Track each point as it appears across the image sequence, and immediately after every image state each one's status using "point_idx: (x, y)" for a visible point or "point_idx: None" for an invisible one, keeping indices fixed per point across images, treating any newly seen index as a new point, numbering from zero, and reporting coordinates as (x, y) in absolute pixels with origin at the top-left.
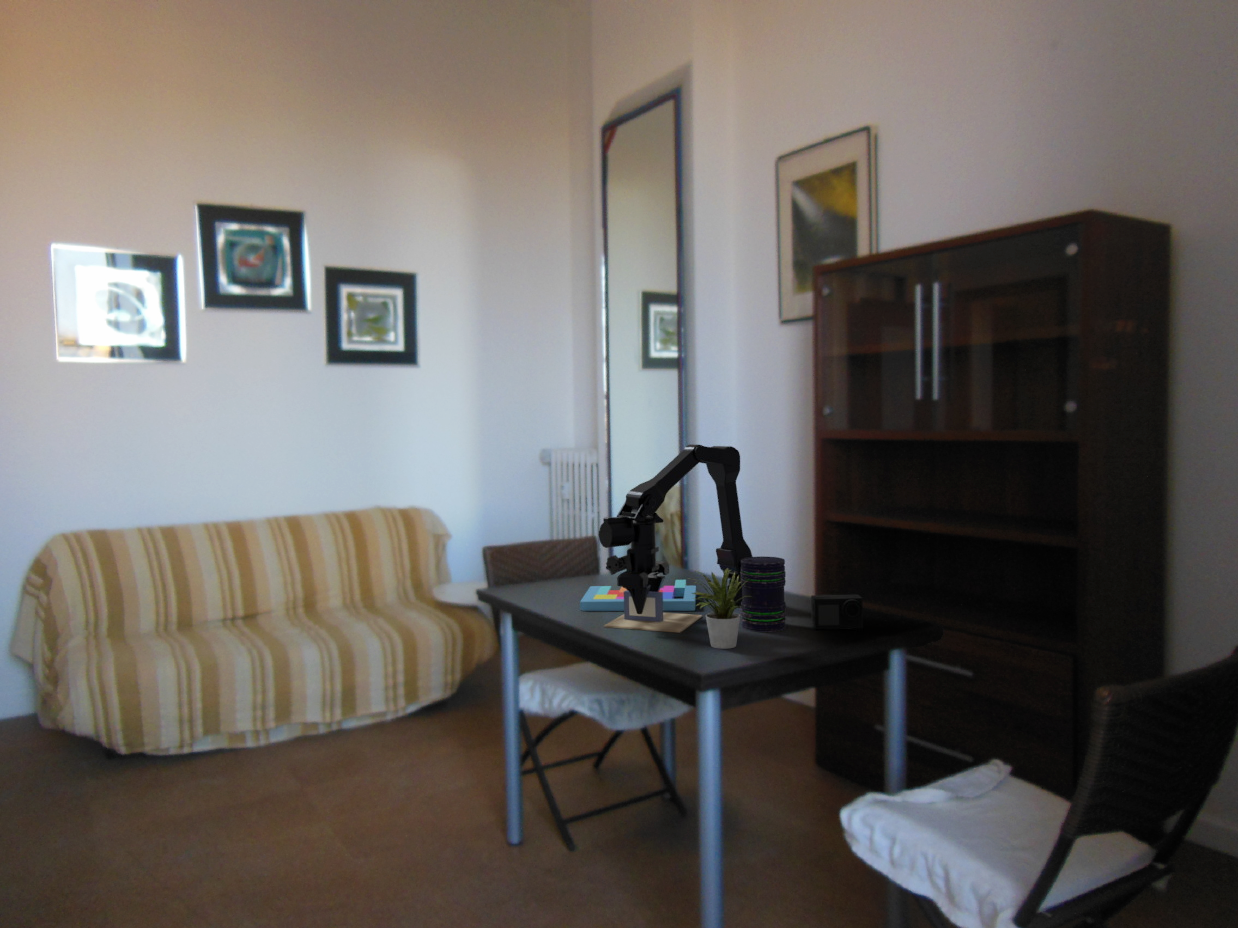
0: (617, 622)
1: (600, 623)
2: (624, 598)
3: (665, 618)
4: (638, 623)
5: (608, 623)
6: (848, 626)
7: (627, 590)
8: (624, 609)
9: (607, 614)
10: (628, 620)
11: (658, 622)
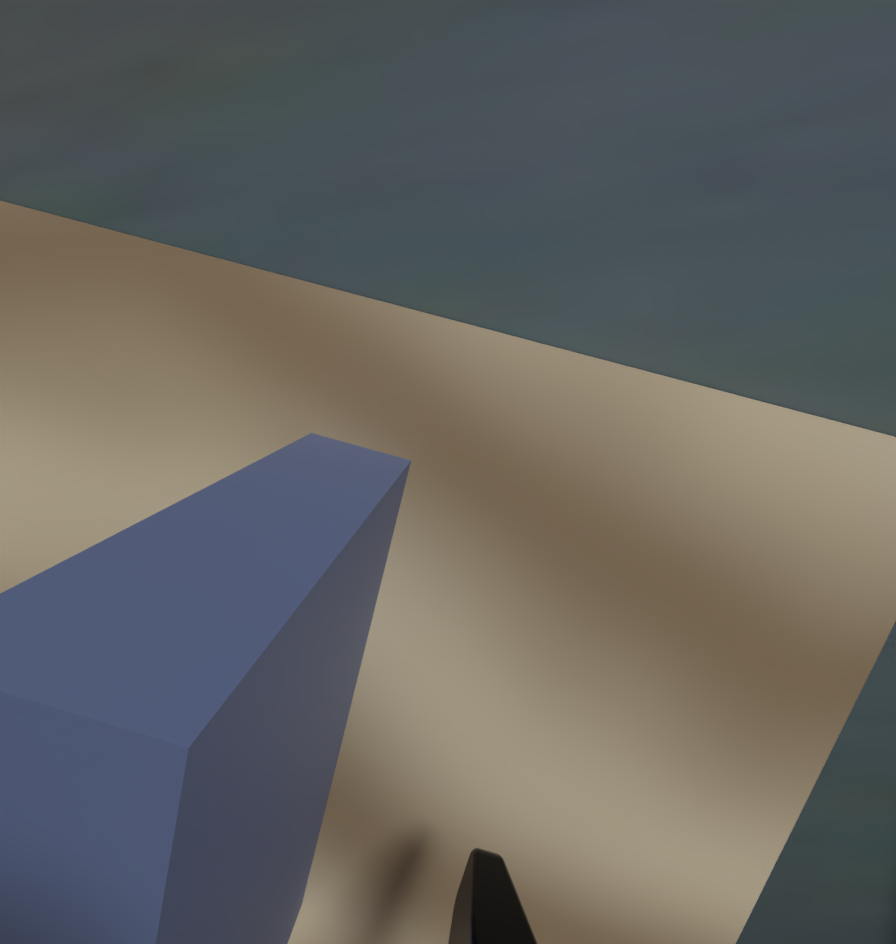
0: (107, 355)
1: (136, 70)
2: (102, 560)
3: (401, 927)
4: None
5: (29, 224)
6: None
7: (143, 797)
8: (242, 474)
9: (807, 57)
10: None
11: None
